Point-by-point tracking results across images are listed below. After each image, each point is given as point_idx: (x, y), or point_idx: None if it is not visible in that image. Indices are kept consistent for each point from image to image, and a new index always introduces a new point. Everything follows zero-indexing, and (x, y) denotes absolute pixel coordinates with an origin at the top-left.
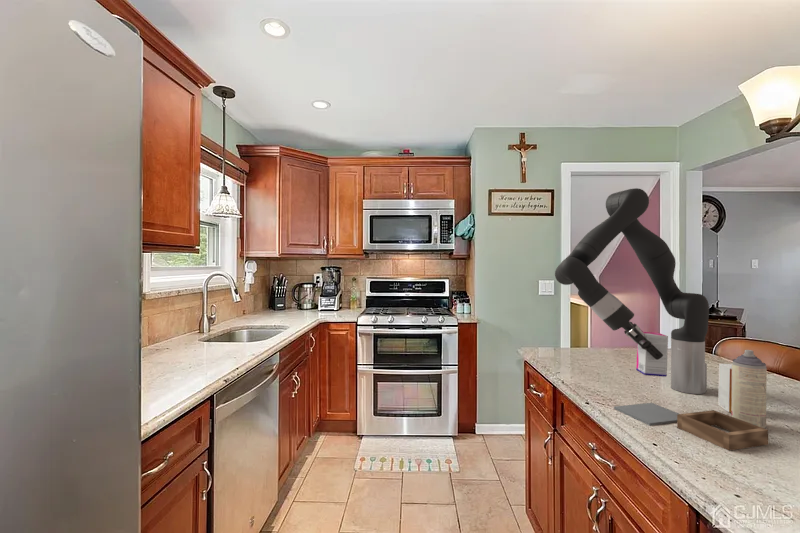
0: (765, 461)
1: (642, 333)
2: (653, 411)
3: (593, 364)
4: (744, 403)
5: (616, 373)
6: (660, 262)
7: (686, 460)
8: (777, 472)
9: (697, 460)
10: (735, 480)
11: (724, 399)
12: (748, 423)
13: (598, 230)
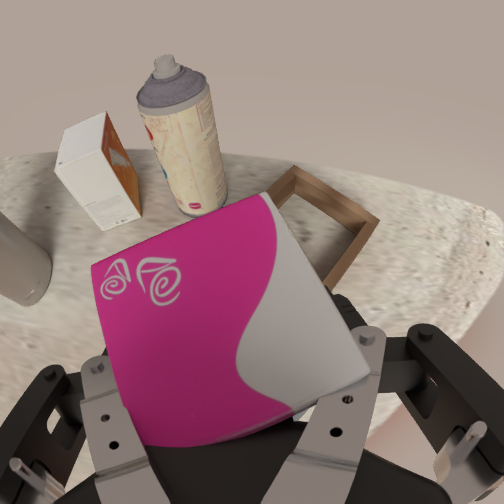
0: (372, 198)
1: (370, 412)
2: None
3: None
4: (218, 168)
5: None
6: None
7: (454, 292)
8: (398, 193)
9: (443, 279)
10: (460, 240)
11: (116, 211)
12: (278, 184)
13: None
